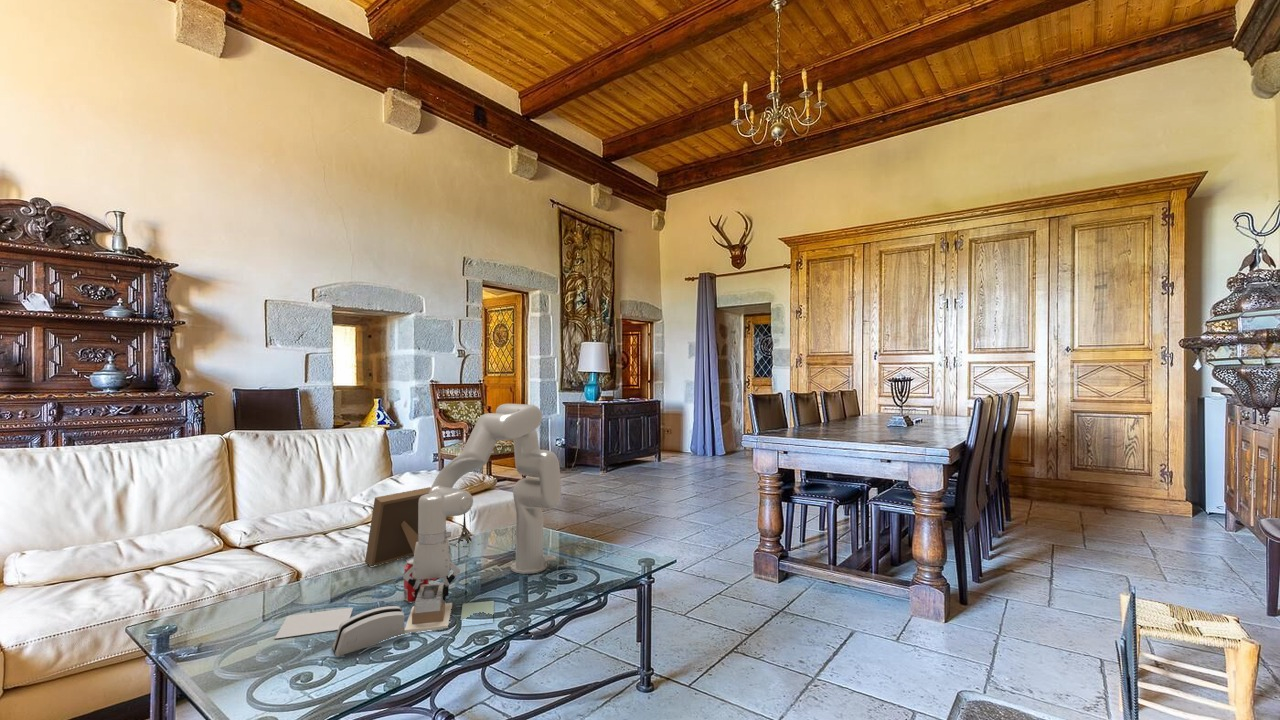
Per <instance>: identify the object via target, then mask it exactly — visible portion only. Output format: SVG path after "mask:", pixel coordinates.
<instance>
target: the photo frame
mask: <svg viewBox="0 0 1280 720" xmlns="http://www.w3.org/2000/svg"><path fill="white" fill-rule="evenodd" d="M431 487H432V486H431ZM431 487H430V486H428V487H424V488H418V489H417V488H416V489H414V490H407V491H402V492H397V493H392V494H387V495H382V496H377V497H374V501H373V508H372V515H371V523H370V528H369V533H368V540H367V548H366V554H365V564H366V565H368V564H370V565H368V566H369V567H370V566H374V565H379V564H382V563H386V562H389V563H392V562H395V560H396V561H398V560H397V559H399V560H402V559H401V558H403V559H406V558H410V557H412V555H413V556H414V550H415V545H416V542H418V502H419V498H420V497H421V496H422V495H425V494H429V491H430V489H431ZM405 557H406V558H405ZM391 561H392V562H391ZM386 564H387V563H386ZM382 565H383V564H382ZM379 566H380V565H379Z"/></svg>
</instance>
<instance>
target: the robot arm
mask: <svg viewBox="0 0 1280 720" xmlns="http://www.w3.org/2000/svg"><path fill="white" fill-rule="evenodd" d="M542 421H543V413H542V410H541V409H540V408H539V407H538V406H536V405H535V404H525V403H524V404H523V403H522V404H521V403H503V404H500V405H499V406H497V408H496V410H495V412H490V413H484V414H482V415H480V416H479V418H478V419H477V420H476V422H475V425H474V427H473V428H472V431H471V433H470V434H469V437H468V439H467V441H466V443H465V445H464V447H463V448H462V450H461V452H460V454H459V455H457V456H455V458H453V459H452V460H450V462H448V463H447V464H446V465H445V466H444V467H443V468H442V469H441V470H440V471H439V472H438V474H437V475H436V477H435V479H434V481H433V483H432V484H431V489H430V491H429V494H425V495H422V496H421V497H420V498H419V502H418V542H416V545H415V550H414V555H413V558H414V559H413V565H412V566H411V567H410V568H409V569H408V570H407V571H406V572H405V573H404V572H403V575H402V578H403V580H404V579H405V580H406V581H407V582H408V583H409V584H410V585H411V586H412V587H413V588H414V589H415V599H416V598H417V595H418V592H419V589H420V582H421V580H422V579H430V580H433V579H432V578H437V579H439V578H440V579H441V580H442V583H444V586H443V600H442V601H446V600H447V597H448V596H449V594H450V593H449V590H450V588H449V585H450V584H452V582H453V581H454V580H455V579H456V578H457V577H458V575H459V574H461V568H459V567H458V566H457V565H456V564H454V563H453V562H452V555H451V543H450V542H449V541H450V540H449V539H448V538H451V537H452V532H451V531H450V532H449V531H448V530H447V518H449V517H456V516H457V517H458V516H464V514H465V515H466V514H467V513H468V512H469V511H470V510H471V509H472V507H473V504H474V498H473V496H472V494H471V493H470V492H469V491H468V490H464V489H460V488H455V487H454V485H455V484H456V483H457V482H458V481H459V480H460V479H461V478H462V477H463V476H465V475H467V474H468V473H470V472H473V471H475V470H478V469H480V468H483V467H484V466H486V465H487V463H488V461H489V459H490V457H491V455H492V452H493V450H494V449H495V446H496V444H497V442H498V441H505V442H506V441H507V442H508V441H509V442H510V441H512V442H513V449H514V450H513V451H514V463H515V469H516V472H517V473H518V474H520V475H522V476H525V477H524V478H521V479H519V480H517V482H515V484H514V487H513V490H512V491H513V492H512V494H513V500H514V506H515V561H514V562H513V563H511V565H510V569H511V571H512V572H514V573H515V574H521V575H522V574H523V575H529V574H530V575H531V574H537V573H541V572H543V571H544V570H546V569H547V567H548V563H554V562H557V556H556V555H555V556H554V555H552V554H547V555H546V554H544V553H545V552H544V515H543V511H542V509H546V510H547V509H548V510H551V509H554V508H556V507H557V506H558V505H559V504H560V501H561V497H562V484H561V469H560V468H561V467H560V462H559V458H558V456H557V455H556V454H555V453H554V451H552V450H551V451H550V450H547V449H540V445H539V438H538V432H537V430H536V429H538V428H539V427H540V425H541V424H542ZM451 570H452V571H453V572H452V574H451ZM412 572H413V578H414V579H413V578H412V577H411V576H410V574H411V573H412ZM415 579H416V580H415Z"/></svg>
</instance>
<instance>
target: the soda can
mask: <svg viewBox="0 0 1280 720" xmlns="http://www.w3.org/2000/svg"><path fill="white" fill-rule="evenodd" d="M413 559H414V557H411V558H408V559H407V560H406V564H405V566H404V569H403V570H404V571H403V574H404V573H405V572H406V571H407V570H408V569H409V568H410V567H411V566H412V565H413ZM410 576H411V577H412V578H413V572H412V573H411V574H410ZM413 579H414V578H413ZM415 580H416V579H415ZM425 584H430V580H429V579H422V580H421V582H420V586H421V585H425ZM403 598H404V599H403V600H405V601H406V602H408V603H409V602H415V601H416V599H415V589H414V588H413V587H412V586H411V585H410V584H409V583H408V582H407V581H406V580H405V579H404V578H403Z"/></svg>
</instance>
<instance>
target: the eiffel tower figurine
mask: <svg viewBox="0 0 1280 720" xmlns="http://www.w3.org/2000/svg"><path fill="white" fill-rule="evenodd" d="M462 524H463V526H462V530H461V534H460V535H459V538H458V541H457V542H456V543H450V541H451V540H449V543H450V546H453V547H455V548H458V547H457V546H456V544H457V543H459V542H460V541H461V540H466V541H467V544H466V545H470V544H471V543H469V540H470V541H471V542H472V541H473V539H472V538H471V537H470V535H469V533H468V531H467V530H468V529H467V525H466V513H465V514H463V523H462ZM481 543H482V544H484V542H481ZM482 544H481V545H482ZM478 545H480V543H477V546H478ZM465 548H468V547H467V546H466V547H465Z"/></svg>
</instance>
